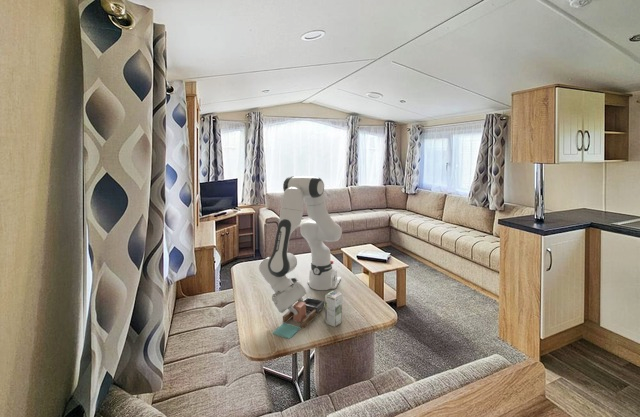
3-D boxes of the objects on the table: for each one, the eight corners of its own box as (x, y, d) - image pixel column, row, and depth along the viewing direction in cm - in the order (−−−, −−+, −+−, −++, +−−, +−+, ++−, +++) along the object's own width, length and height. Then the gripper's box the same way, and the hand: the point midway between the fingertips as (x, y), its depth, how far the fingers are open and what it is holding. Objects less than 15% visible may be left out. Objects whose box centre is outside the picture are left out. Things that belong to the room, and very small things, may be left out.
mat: (283, 323, 144) (283, 322, 144) (300, 328, 140) (300, 327, 140) (272, 333, 137) (272, 332, 136) (289, 339, 132) (289, 338, 132)
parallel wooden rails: (296, 310, 156) (296, 304, 156) (316, 315, 151) (316, 309, 150) (283, 322, 146) (282, 316, 145) (303, 327, 141) (303, 321, 140)
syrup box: (332, 318, 149) (332, 289, 146) (342, 322, 145) (342, 293, 142) (325, 323, 144) (324, 294, 142) (335, 327, 141) (335, 297, 138)
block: (299, 315, 151) (298, 301, 150) (306, 317, 150) (305, 302, 148) (293, 320, 147) (293, 305, 146) (300, 322, 145) (300, 307, 144)
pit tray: (307, 302, 165) (307, 297, 164) (324, 306, 160) (324, 300, 160) (299, 309, 158) (299, 303, 157) (317, 313, 153) (316, 307, 153)
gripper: (273, 292, 140) (293, 317, 137) (297, 276, 157) (315, 298, 155) (266, 299, 142) (284, 324, 140) (290, 283, 160) (307, 304, 157)
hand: (300, 310), depth 147 cm, fingers closed on block, 5 cm apart
